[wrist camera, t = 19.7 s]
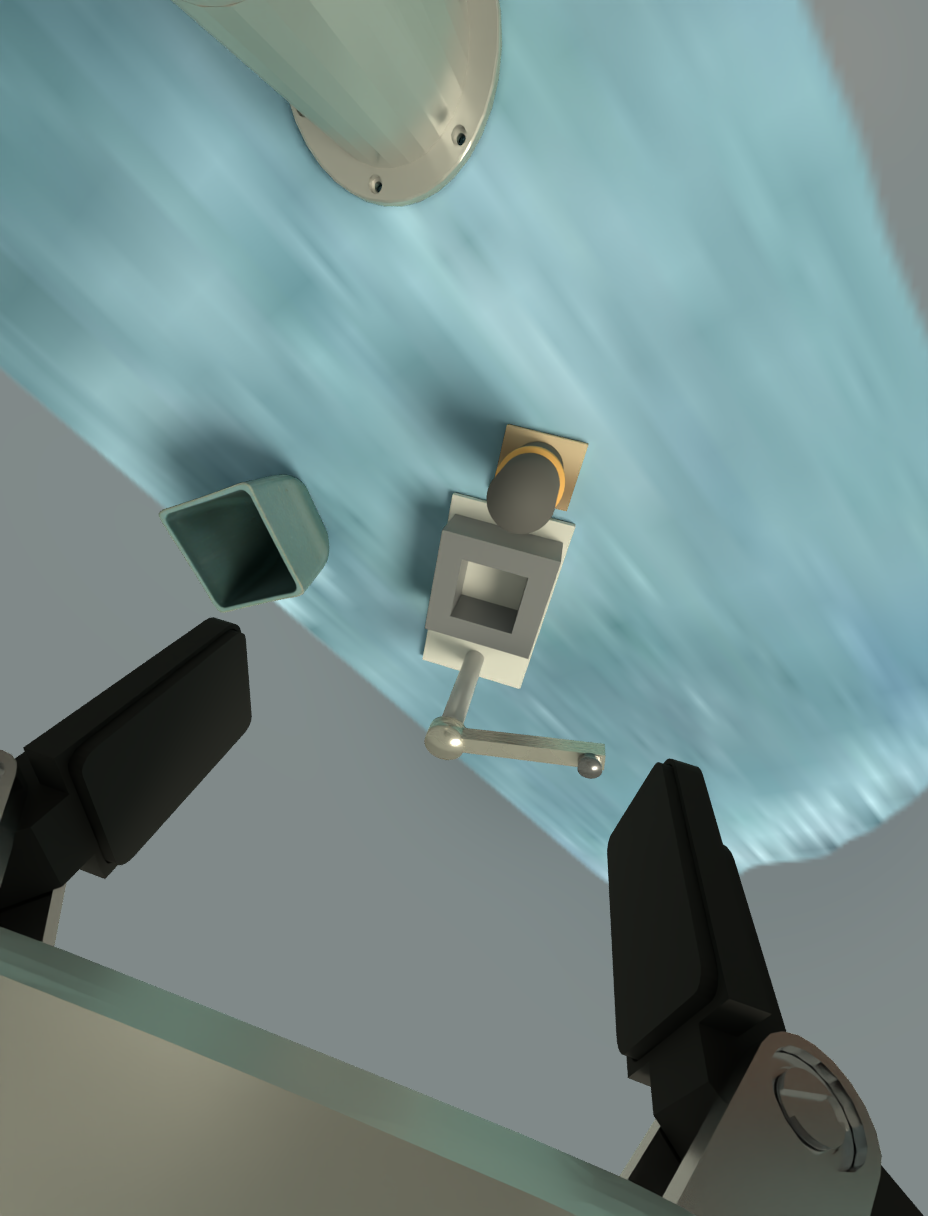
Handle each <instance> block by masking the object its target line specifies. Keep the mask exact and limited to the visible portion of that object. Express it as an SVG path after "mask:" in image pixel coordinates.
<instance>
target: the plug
mask: <svg viewBox="0 0 928 1216" xmlns="http://www.w3.org/2000/svg"><path fill="white" fill-rule="evenodd" d="M564 488H565V473H564V466H563V461H562V458H561V455H560V454H559V452H558V451H557V450H556V449H555V448H554V447H553V446H551V445H550V444H548V443H545V442H539V441H536V442H530V443H527V444H525V445H523V446H522V447H520V448H518V449H516V450H514V451H512V452H511V453H509V454H508V455H507V456H506V457H505V458H504V460H503V461H502V462H501V463H500V465H499V466H498V469H497V471H496V474H495V478H494V479H493V480H492V482H491V483H490V486H489V488H488V491H487V508H488V511H489V514H490V516H491V517H492V519H493V520H494V522H495V523H496V524H497V525H498V526H499V527H501V528H502V529H504V530H506V531H508V532H511V533H514V534H528V533H532V532H535V531H537V530H539V529H540V528H542V527H543V526H544V525H545V524H546V523H547V522H548V521H549V520H550V518H551V517H552V515H553V512H554V510H555V507H556V506H557V504H558V503H559V501H560V500H561V498H562V495H563V492H564Z"/></svg>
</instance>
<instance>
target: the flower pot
mask: <svg viewBox="0 0 928 1216" xmlns="http://www.w3.org/2000/svg"><path fill="white" fill-rule="evenodd" d="M159 517H160V519H161V521H162V523H163V525H164V526H165V528H166V529H167V531H168V533H169V534H170V536H171V538H172V539H173V541H174V542H175V543H176V545H177V546H178V548H179V549H180V551H181V553H182V554H183V556H184V558H185V559H186V561H187V562H188V564H189V566H190V567H191V569H192V570H193V572H194V573H195V575H196V577H197V578H198V579H199V581H200V583H201V584H202V586H203V588H204V589H205V591H206V593H207V594H208V596H209V598H210V600H211V601H212V603H213V605H214V606H215V607H216V608H217V609H218V610H219V611H220V612H223V613H224V612H229V611H233V610H237V609H242V608H245V607H250V606H254V605H257V604H258V605H259V604H262V603H267V602H272V601H276V600H281V599H286V598H292V597H297V596H300V595H302V594H303V593H304V592H305V591H306V589H307V588H308V587H309V586H310V584H311V583H312V582H313V580H314V579H315V578H316V577H317V575H318V574H319V573H320V571H321V570H322V569H323V567H324V566H325V564H326V562H327V559H328V555H329V539H328V534H327V531H326V529H325V527H324V525H323V523H322V520H321V518H320V516H319V514H318V512H317V510H316V508H315V505H314V503H313V501H312V499H311V497H310V494H309V492H308V490H307V488H306V486H305V485H304V484H303V483H302V482H301V481H300V480H298V479H297V478H295V477H293V476H290V475H274V476H269V477H264V478H260V479H255V480H251V481H247V482H242V483H239V484H236V485H233V486H230V487H228V488H225V489H222V490H220V491H217V492H214V493H211V494H208V495H206V496H203V497H200V498H197V499H194V500H191V501H188V502H185V503H182V504H179V505H176V506H173V507H170V508H166V509H163V510H162V511H160V513H159Z"/></svg>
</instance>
